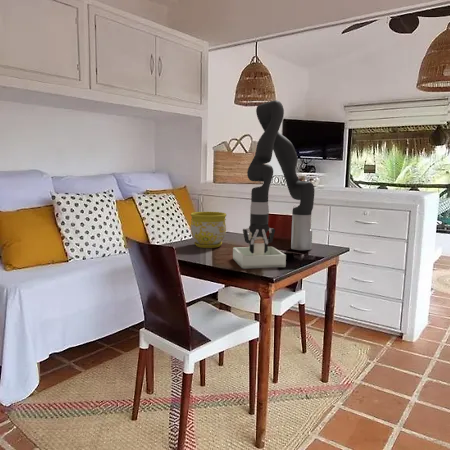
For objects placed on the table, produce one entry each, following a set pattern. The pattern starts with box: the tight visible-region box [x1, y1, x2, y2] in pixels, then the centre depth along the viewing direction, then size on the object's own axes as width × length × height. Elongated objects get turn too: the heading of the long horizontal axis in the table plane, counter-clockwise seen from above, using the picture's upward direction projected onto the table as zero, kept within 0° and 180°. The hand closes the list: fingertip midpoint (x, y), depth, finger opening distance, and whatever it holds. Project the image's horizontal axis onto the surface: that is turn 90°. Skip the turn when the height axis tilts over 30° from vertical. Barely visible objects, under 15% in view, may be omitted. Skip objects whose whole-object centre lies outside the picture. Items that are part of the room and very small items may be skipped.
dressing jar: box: [252, 239, 265, 256], centre depth 180 cm, size 5×5×7 cm
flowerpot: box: [190, 211, 227, 249], centre depth 215 cm, size 18×18×16 cm
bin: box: [232, 246, 287, 270], centre depth 180 cm, size 18×18×5 cm
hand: (258, 252), depth 180 cm, fingers closed on dressing jar, 5 cm apart
